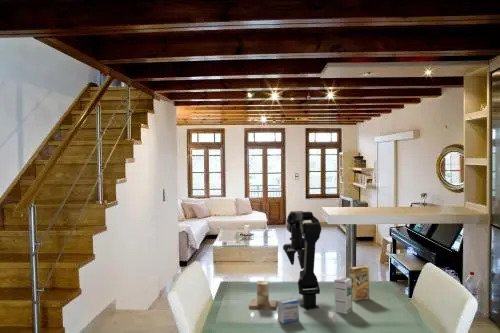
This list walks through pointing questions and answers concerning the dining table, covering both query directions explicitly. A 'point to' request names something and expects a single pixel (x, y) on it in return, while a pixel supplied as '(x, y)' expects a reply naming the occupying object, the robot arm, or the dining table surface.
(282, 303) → the medicine box
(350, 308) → the syrup box
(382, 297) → the dining table surface
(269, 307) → the walnut slab
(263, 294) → the oak pillar
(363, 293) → the candy box
